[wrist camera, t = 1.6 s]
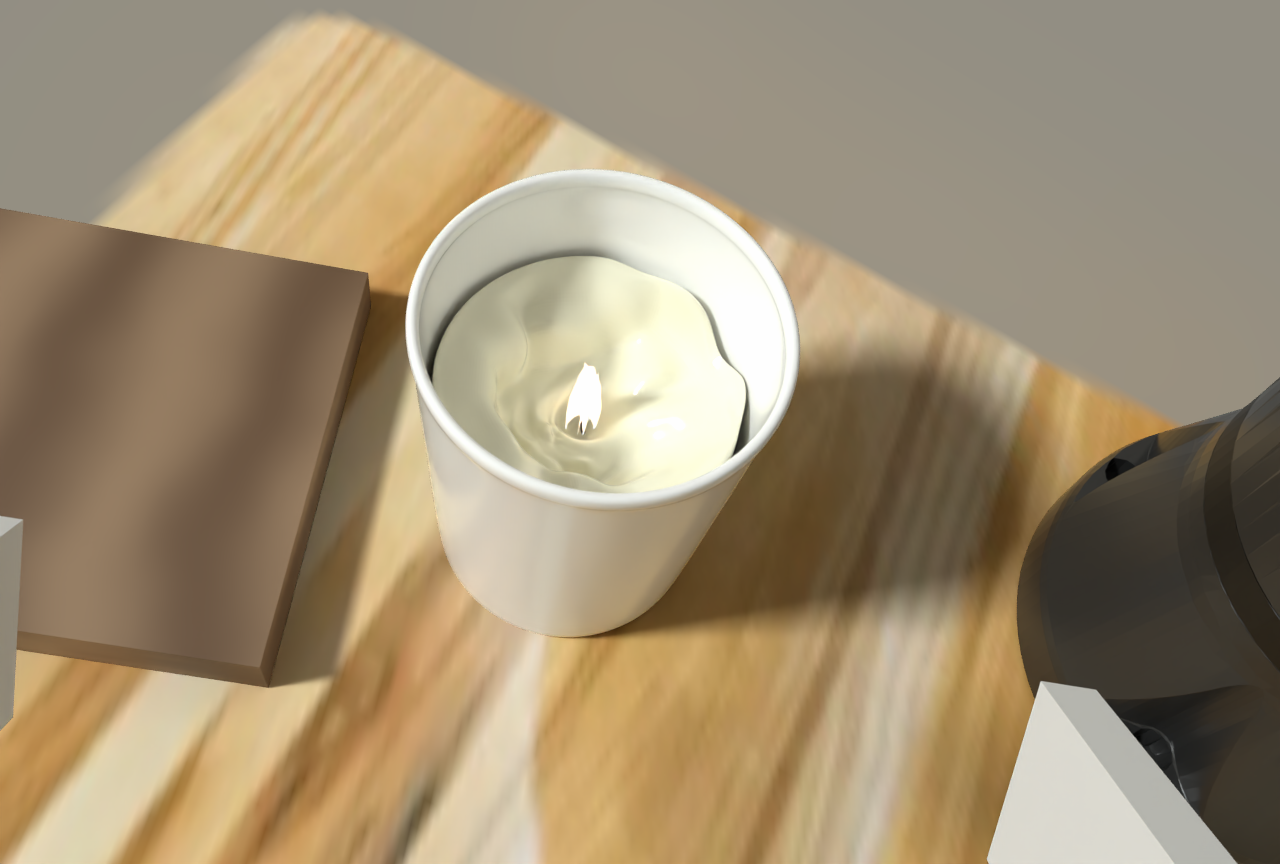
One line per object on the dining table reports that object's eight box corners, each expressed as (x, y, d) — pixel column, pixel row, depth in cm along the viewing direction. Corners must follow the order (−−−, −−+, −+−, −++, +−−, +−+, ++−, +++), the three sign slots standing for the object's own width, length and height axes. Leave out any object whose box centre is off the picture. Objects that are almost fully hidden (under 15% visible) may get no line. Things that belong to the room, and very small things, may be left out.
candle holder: (631, 356, 44) (690, 127, 33) (762, 592, 40) (874, 418, 30) (370, 448, 41) (345, 227, 30) (487, 713, 37) (504, 566, 27)
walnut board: (370, 305, 43) (368, 273, 42) (268, 687, 37) (259, 667, 35) (-91, 225, 42) (-114, 188, 40) (-286, 604, 35) (-323, 578, 34)
